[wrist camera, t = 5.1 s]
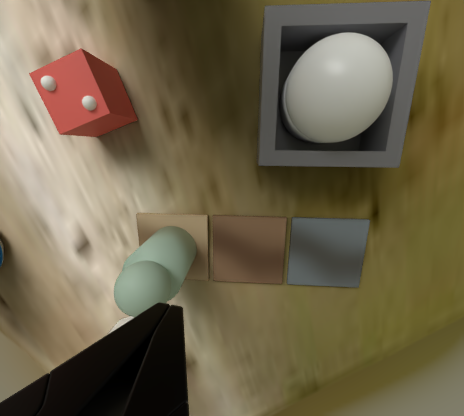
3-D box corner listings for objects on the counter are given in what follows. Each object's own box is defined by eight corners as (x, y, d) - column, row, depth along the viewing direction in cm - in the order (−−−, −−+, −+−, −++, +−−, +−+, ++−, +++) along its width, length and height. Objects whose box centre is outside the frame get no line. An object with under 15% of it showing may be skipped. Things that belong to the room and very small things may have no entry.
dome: (281, 57, 17) (299, 9, 11) (367, 55, 16) (433, 5, 10) (276, 143, 18) (290, 141, 12) (355, 143, 18) (406, 142, 12)
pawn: (148, 225, 21) (90, 271, 13) (195, 226, 21) (164, 274, 13) (152, 268, 22) (100, 333, 14) (197, 270, 22) (169, 338, 14)
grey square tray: (261, 37, 17) (264, 5, 13) (388, 35, 16) (430, 0, 13) (256, 161, 19) (259, 165, 15) (368, 163, 19) (399, 167, 15)
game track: (137, 212, 21) (136, 213, 21) (368, 219, 20) (370, 220, 20) (144, 275, 23) (142, 277, 23) (357, 285, 22) (358, 287, 21)
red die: (74, 88, 19) (22, 71, 14) (116, 69, 18) (76, 45, 14) (96, 136, 20) (54, 133, 15) (137, 119, 19) (106, 112, 15)
